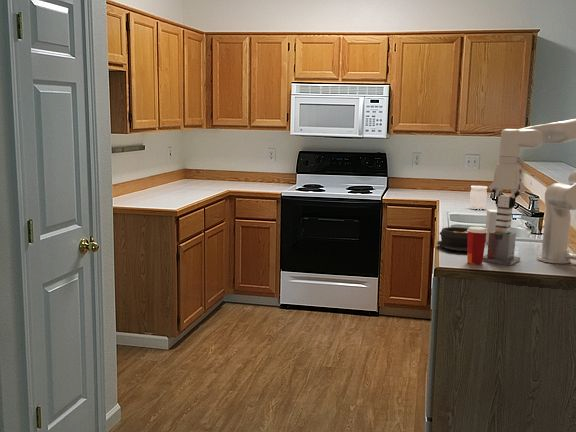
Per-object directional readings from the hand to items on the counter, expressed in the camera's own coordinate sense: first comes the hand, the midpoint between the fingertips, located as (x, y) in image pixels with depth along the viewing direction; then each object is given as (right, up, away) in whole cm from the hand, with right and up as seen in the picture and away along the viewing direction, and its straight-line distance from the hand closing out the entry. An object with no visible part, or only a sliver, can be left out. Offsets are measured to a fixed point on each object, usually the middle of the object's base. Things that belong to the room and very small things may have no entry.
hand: (504, 206), depth 248 cm
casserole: (-11, -18, +26) cm, 34 cm away
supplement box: (+10, -16, +42) cm, 47 cm away
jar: (+36, 0, +156) cm, 160 cm away
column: (0, -14, +2) cm, 14 cm away
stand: (-1, -22, +3) cm, 22 cm away
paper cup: (-13, -22, -2) cm, 26 cm away
